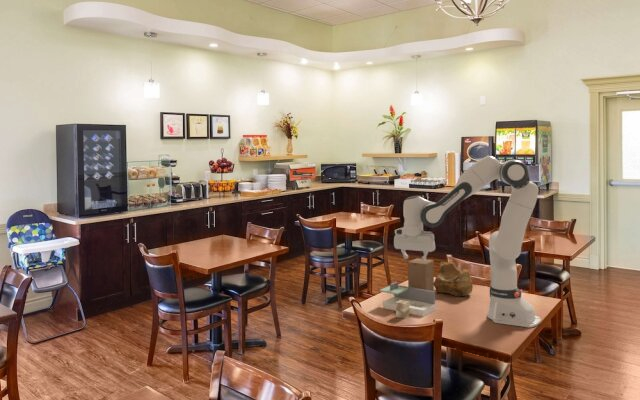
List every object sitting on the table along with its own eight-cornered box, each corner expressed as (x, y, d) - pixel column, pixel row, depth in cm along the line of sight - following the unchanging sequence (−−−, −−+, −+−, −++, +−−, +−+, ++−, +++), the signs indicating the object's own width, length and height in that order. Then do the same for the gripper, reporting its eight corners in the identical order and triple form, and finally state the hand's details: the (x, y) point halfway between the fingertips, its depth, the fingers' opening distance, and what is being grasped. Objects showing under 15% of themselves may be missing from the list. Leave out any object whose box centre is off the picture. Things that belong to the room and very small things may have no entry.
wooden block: (425, 302, 249) (425, 264, 246) (408, 299, 255) (407, 261, 253) (434, 297, 256) (434, 260, 254) (416, 294, 262) (416, 257, 260)
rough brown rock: (424, 290, 273) (422, 264, 271) (449, 284, 279) (447, 258, 276) (449, 303, 251) (447, 275, 249) (476, 296, 257) (474, 268, 255)
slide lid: (408, 289, 244) (408, 282, 244) (397, 294, 236) (397, 287, 236) (390, 286, 251) (390, 279, 250) (379, 291, 243) (379, 283, 243)
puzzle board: (435, 309, 237) (435, 291, 236) (423, 316, 228) (423, 297, 227) (395, 301, 252) (395, 284, 251) (383, 307, 242) (382, 290, 241)
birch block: (409, 316, 230) (409, 301, 229) (404, 318, 226) (404, 304, 226) (401, 314, 233) (400, 299, 232) (396, 316, 229) (395, 302, 229)
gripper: (437, 230, 226) (438, 260, 228) (398, 228, 239) (399, 256, 241) (430, 232, 221) (432, 263, 223) (391, 230, 234) (392, 258, 236)
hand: (414, 259), depth 232 cm, fingers open, 8 cm apart
